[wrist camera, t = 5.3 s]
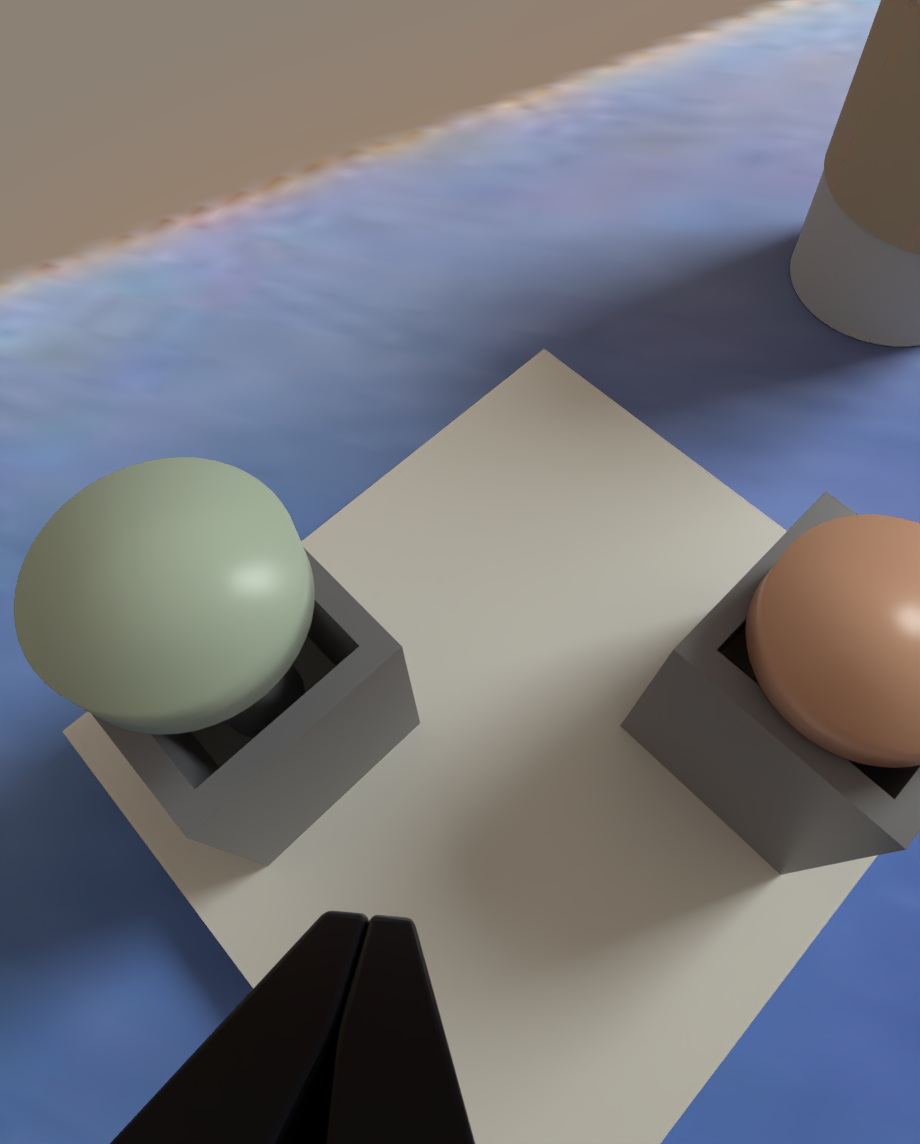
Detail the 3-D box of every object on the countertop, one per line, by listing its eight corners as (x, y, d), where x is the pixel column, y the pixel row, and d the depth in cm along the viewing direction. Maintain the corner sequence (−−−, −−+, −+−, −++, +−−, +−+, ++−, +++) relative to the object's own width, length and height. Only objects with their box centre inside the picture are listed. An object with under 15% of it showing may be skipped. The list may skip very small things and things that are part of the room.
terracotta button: (785, 854, 19) (943, 812, 12) (639, 721, 20) (715, 623, 14) (889, 724, 20) (1080, 627, 14) (746, 608, 21) (858, 472, 15)
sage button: (245, 837, 17) (116, 780, 11) (132, 695, 19) (-39, 573, 12) (397, 698, 18) (358, 577, 12) (279, 576, 20) (192, 413, 14)
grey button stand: (510, 1311, 16) (535, 1560, 10) (82, 741, 22) (-85, 657, 15) (974, 704, 22) (1187, 604, 15) (541, 371, 27) (563, 195, 21)
